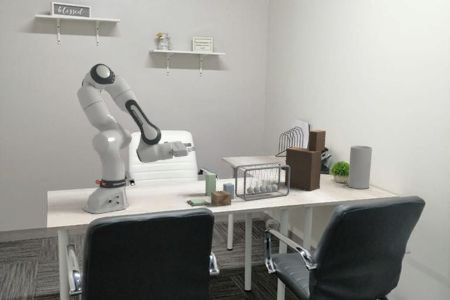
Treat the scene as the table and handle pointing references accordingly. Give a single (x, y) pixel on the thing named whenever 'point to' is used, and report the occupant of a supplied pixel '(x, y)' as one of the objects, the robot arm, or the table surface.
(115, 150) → the robot arm
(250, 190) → the newton's cradle
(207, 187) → the green pillar
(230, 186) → the slate-blue pillar
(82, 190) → the table surface
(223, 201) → the walnut block
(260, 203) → the table surface
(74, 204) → the table surface
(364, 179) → the cylinder vase
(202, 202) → the green tile
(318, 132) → the stacked brown boxes
